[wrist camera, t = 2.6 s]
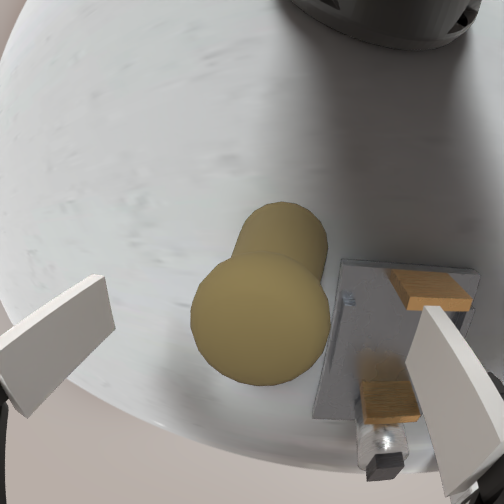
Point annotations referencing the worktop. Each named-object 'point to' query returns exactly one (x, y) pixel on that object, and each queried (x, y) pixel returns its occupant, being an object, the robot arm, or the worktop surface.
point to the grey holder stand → (384, 351)
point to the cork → (266, 299)
